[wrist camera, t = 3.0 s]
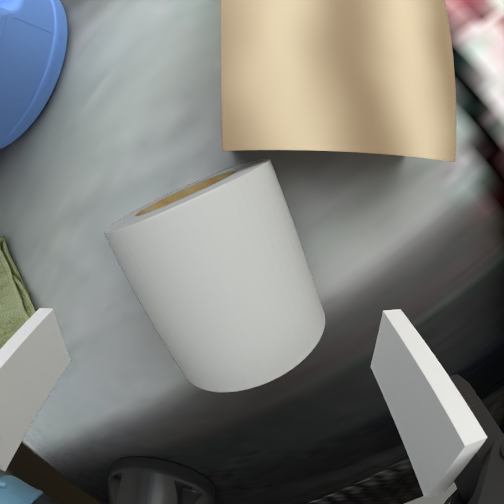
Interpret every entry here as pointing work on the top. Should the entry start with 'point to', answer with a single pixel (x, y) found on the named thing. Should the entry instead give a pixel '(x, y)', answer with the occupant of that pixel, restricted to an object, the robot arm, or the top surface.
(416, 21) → the oak brick
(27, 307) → the washcloth
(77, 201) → the top surface
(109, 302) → the top surface
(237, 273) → the toilet paper
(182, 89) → the top surface
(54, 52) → the water jug
